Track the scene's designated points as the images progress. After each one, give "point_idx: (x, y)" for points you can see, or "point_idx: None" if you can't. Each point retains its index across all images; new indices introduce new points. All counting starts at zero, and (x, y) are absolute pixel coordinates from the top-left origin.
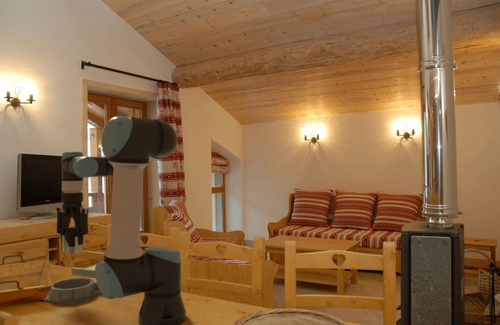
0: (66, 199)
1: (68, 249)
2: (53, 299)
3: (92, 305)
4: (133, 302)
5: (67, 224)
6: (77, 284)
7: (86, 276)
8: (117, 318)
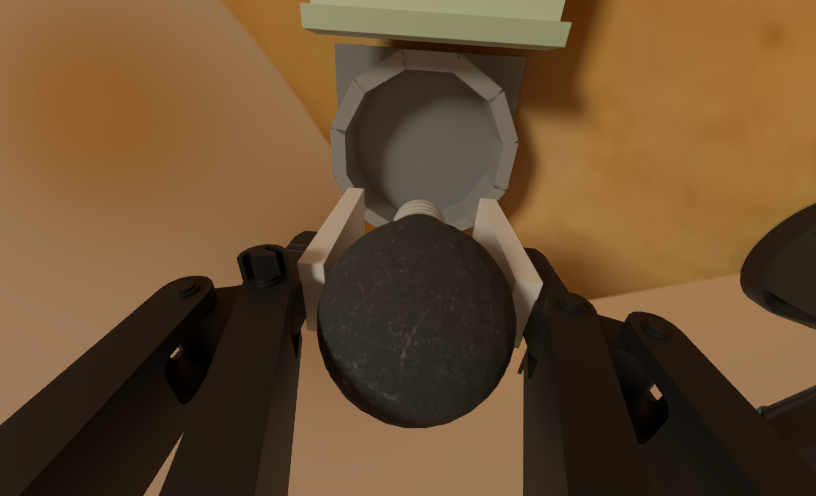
0: None
1: (360, 201)
2: None
3: (551, 209)
4: (703, 142)
5: (280, 446)
6: (394, 77)
7: (426, 41)
8: (669, 275)
